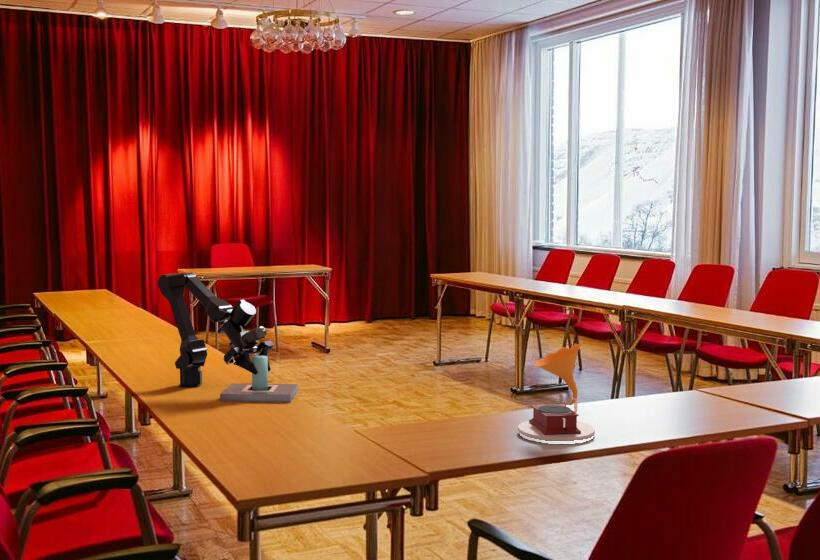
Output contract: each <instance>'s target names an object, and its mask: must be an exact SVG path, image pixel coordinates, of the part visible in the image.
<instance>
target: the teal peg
mask: <svg viewBox="0 0 820 560" xmlns="http://www.w3.org/2000/svg"><path fill="white" fill-rule="evenodd" d="M268 357H269V356H268V355H267V356H255V355H254V356H251V361H252V363H253V365H254V366H255V368H256V370H257V372H258V373H257V374H256V375H255V374H253V373H251V384H252V390H258V391H268V384H269V372H268V361H269V358H268Z"/></svg>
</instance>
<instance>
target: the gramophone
mask: <svg viewBox="0 0 820 560" xmlns="http://www.w3.org/2000/svg"><path fill="white" fill-rule="evenodd" d="M582 346H583V342H581V343H577V342H575V343H574V344H573V345H572V346H571V347H569V348H568V347H564V346H561V347H560V348H559V349H558V350H557V351H556V352H550V353H546V355H545V356H544V357H543V359H538V360H537V359H536V360H535V363H534V364H532V366H533V367H539V368H540V369H542V370H544V371H546V372H548V373H550V374H553V375H555V376H557V377H558V378H561V379H562V380H563V382H564V383H565V384H566V385H567V386H568V387H569V388H568V389H570V390H571V393H572V397H571V402H569V403H567V401H564V404H563V403H560V404H557V403H556V404H533V405H531V407H532V409H533V412H532V418H531V419H529V420H526V421H522V422H521V423H519V424H518V426H517V432H518V431H519V433H521V434H523V435H525V436H527V437H530V438H534V439H539V440H545V441H574V440H583V439H588V438H591V437H592V436H594V434H596V433H595V432H596V431H595V430H596V429H595V428H594V426H592V425H590V424H588V423H585V422H582V421H578V420H577V419H578V417H579V416H580V414H578V413H577V412H578V401H579V399H578V394H579V392H578V388H577V385H576V382H575V379H574V375H573V373H574V367H575V364H576V360H577V357H578V356H577V355H578V354H579V353H578V352H579V351H580V349H581V347H582ZM567 405H568V406H572V405H573V408H574V410H572V409H571V408H570V407H568V406H567Z"/></svg>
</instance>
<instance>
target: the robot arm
mask: <svg viewBox="0 0 820 560" xmlns="http://www.w3.org/2000/svg"><path fill="white" fill-rule="evenodd" d="M157 287H158V289H159V291H160V293H161V295H162V296H163V297H164V298H165V299H166V300H167V301H168V304H169V305H170V308H171V313H172V315H173V318H174V321H175V324H176V329H177V331H178V334H179V336H180V340H181V341H180V346H179V357H177V359H176V360H175V362H174V364H175V369H177V370H179V385H178V388H179V387H180V388H194V387H195V388H198V387H200V386H201V385H202V384H203V371H202V370H201V367H204V366H205V364H206V359H207V356H208V348H207V347H206V343H205V340H204V338H201V339H200V338H198V337H197V334H196V332H195V328H194V326H193V323H192V320H191V317H190V313H189V311H188V308H187V305H186V302H185V298H184V295H185V291H186V289H187V291H189V292H190V293H191V295H193V297H194V298H196V300H198V301H199V303H200V304H202V306H204V309H205V313H206V315H207V317H209V319H210V320H211V321H212V322H213V323H219V322H223V323H222V324H219V325H218V329H217V334H225V336H226V337H227V339H228V340H229V347H230V348H229V349H228V351H226V353H225V354H224V355H223V362H224V363H225V364H226V365H231V364H232V365H233V366H237V367H239V368H241V369H244V370H246V371H248V372H249V373H251V374H252V373H253V374H255V375H256V374H257V373H258V372H257V370H256V368H255V366H254V365H253V363H252V359H251V358H250V355H254V356H268V353H269V352H270V351H271V350H272V349H273V348H274V346H275V344H274V343H273V342H272V340H263V341H260V342H259V340H261V339H265V338H266V336H267V330H266V328H265V327H264V326H262V325H260V326H258V327H256V328H254V329H252V330H250V331H249V330H247V331H246V330H245V329H244V328H243V327H244V326H245V327H246V326H247V325H248V324H249V323H250V321H251V320H252V318H253V317H254V316H255V315H256V313H257V309H256V308H255V306H254V305H253V304H252V303H249V302H248V301H246V300H245V299H239V300H238V301H237V302H236V304H235V306H232V304H230V303H229V302H227V301H226V300H225V299H222V298H220V297H218V296H216V295H215V294H214V293H213V292H212V291H211V290H210V289H209V288H208V287H207V286H206V285H205V284H204V283H203V282H202V281H201V280H200V279H199V278H198V277H197V275H196V273H194V272H183V273H181V274H179V273H167V274H165V273H164V274H161V275H160V276H159V278H158V280H157ZM258 343H259V344H258ZM270 371H272V370H271V366H270V361H269V360H268V373H269V372H270Z"/></svg>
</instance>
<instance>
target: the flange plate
mask: <svg viewBox="0 0 820 560" xmlns="http://www.w3.org/2000/svg"><path fill="white" fill-rule="evenodd" d="M297 394H299V384H298V383H268V391H258V390H252V383H237V382H236V383H231V384H230V385H228V386H227V387H226V388H225V389H224V390H223V391H222V392H220V393H219V402H220V403H223V402H227V403H231V402H232V403H291V402H292V400H293V399H294V398H295V397H296V395H297Z"/></svg>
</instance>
